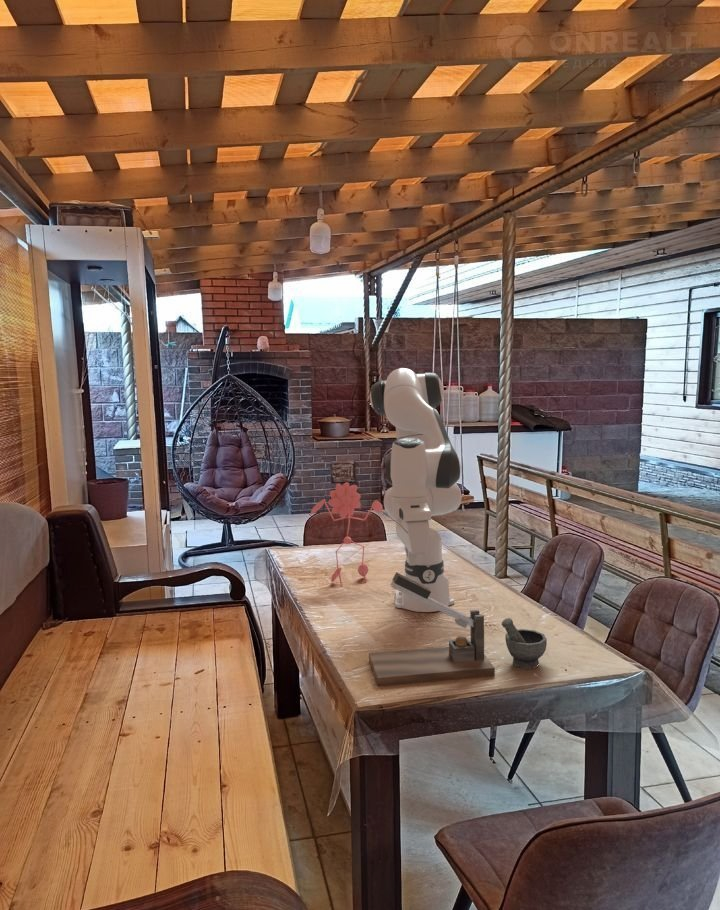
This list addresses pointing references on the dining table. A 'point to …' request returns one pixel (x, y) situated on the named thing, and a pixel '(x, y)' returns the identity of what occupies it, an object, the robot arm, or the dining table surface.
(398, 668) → the press base
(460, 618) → the lever
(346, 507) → the figurine
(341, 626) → the dining table surface
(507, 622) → the mortar and pestle
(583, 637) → the dining table surface
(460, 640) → the nut
